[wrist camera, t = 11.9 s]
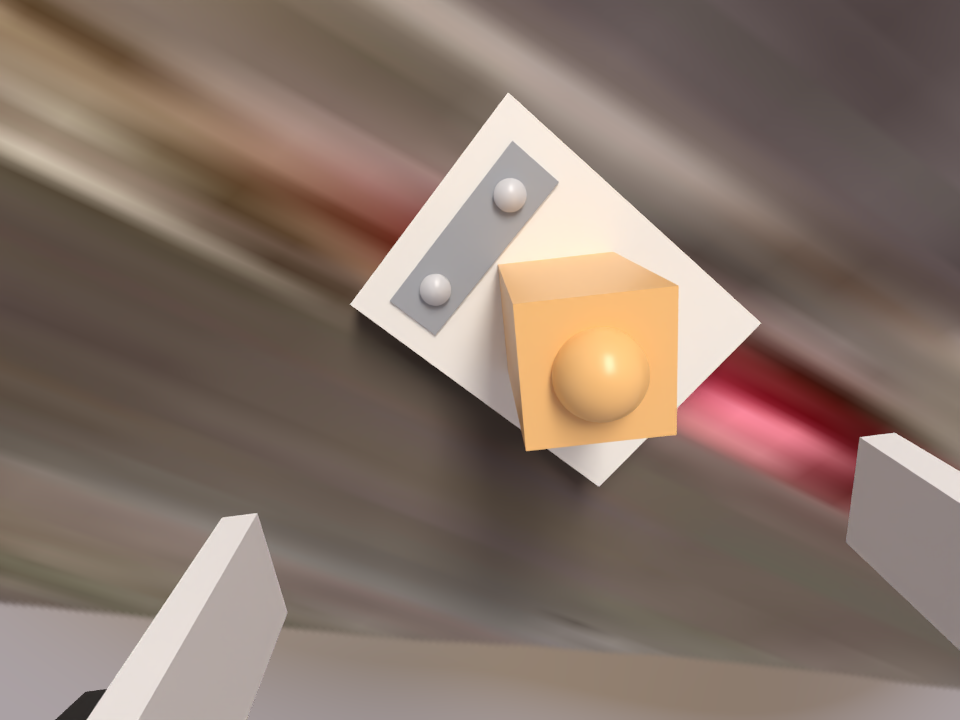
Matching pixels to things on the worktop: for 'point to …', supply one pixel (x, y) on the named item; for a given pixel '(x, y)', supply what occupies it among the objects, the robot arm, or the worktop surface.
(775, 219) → the worktop surface
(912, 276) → the worktop surface
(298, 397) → the worktop surface
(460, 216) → the block
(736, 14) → the worktop surface
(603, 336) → the orange cube with dome
